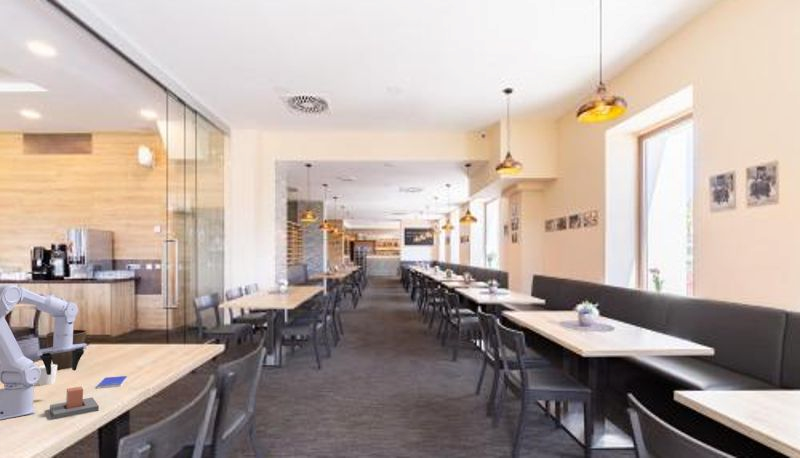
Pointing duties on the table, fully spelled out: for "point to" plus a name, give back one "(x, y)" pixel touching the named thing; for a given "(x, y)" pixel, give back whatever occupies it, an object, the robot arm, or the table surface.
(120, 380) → the hard drive
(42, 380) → the white tapered cup
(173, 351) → the table surface
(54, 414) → the socket plate
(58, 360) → the plant pot
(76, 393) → the reddish brown block
